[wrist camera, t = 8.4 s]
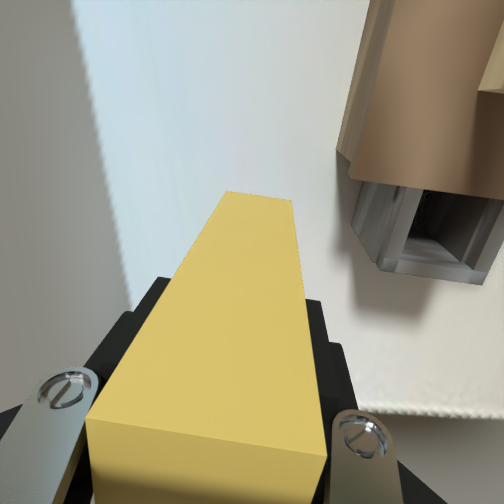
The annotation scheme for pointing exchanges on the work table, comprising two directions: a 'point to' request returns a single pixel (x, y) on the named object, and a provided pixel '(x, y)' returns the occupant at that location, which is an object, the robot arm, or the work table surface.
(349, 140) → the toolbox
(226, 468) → the yellow rectangular block
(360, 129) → the lid
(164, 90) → the work table surface
